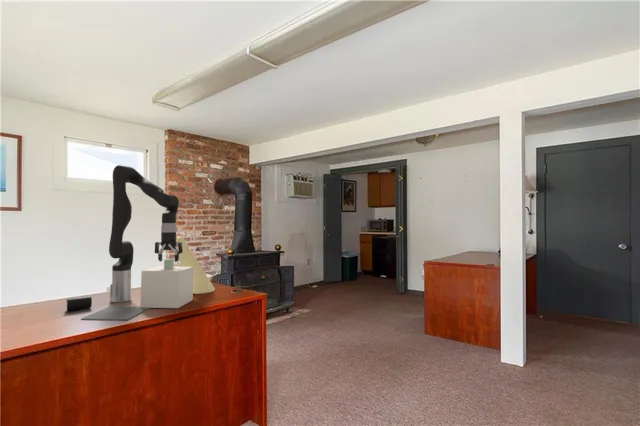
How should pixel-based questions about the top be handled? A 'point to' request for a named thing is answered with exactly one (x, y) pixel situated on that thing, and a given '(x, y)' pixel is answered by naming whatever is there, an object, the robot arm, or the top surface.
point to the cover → (166, 286)
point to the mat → (116, 313)
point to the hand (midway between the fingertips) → (168, 261)
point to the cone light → (199, 277)
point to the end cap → (79, 303)
